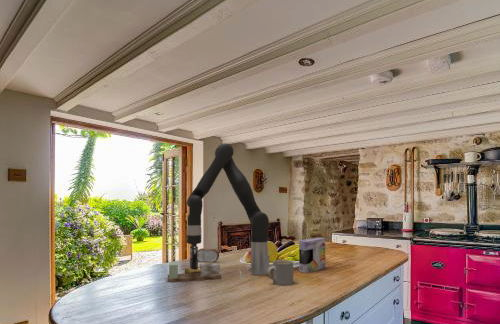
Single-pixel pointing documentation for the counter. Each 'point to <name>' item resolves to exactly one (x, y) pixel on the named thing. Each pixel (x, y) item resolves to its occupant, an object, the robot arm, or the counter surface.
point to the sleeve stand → (200, 274)
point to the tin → (207, 255)
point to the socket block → (173, 270)
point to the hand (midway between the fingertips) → (193, 267)
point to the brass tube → (193, 271)
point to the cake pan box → (311, 255)
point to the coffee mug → (281, 272)
